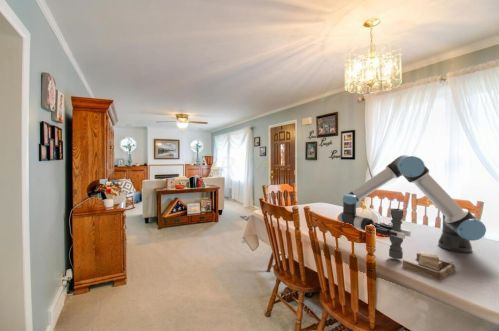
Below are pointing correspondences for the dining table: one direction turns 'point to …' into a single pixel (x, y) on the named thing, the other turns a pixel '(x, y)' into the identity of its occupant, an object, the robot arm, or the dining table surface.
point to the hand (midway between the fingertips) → (407, 235)
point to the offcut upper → (429, 257)
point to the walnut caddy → (435, 274)
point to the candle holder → (395, 246)
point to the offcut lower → (431, 264)
